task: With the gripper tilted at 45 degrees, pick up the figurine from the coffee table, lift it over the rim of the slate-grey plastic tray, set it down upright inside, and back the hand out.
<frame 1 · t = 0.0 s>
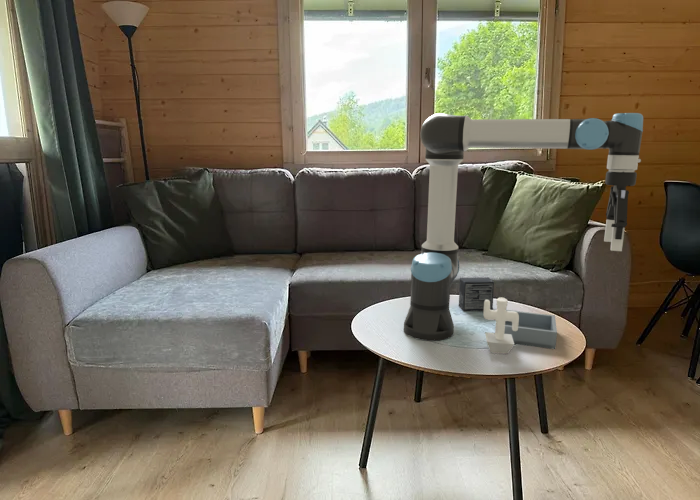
hand: (612, 246, 143), 28 cm above the table, tool pointing down, fingers open, 13 cm apart
tray: (525, 335, 150), on the table
figurine: (498, 351, 140), on the table
small box: (475, 308, 175), on the table
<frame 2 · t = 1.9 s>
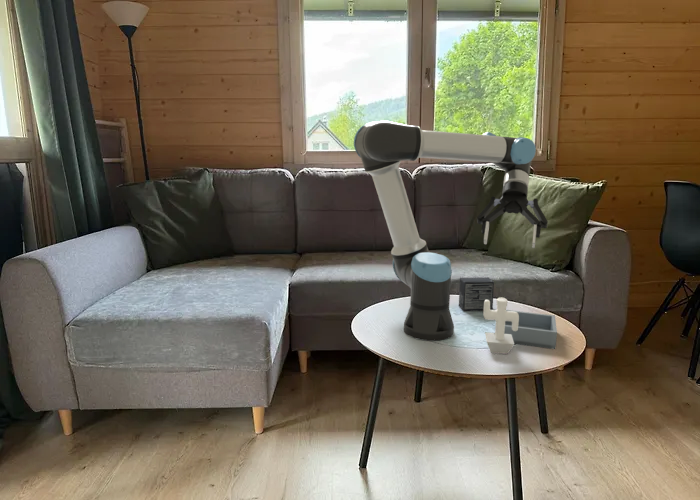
hand: (508, 243, 147), 28 cm above the table, tool tilted 45°, fingers open, 13 cm apart
nothing on the table moved.
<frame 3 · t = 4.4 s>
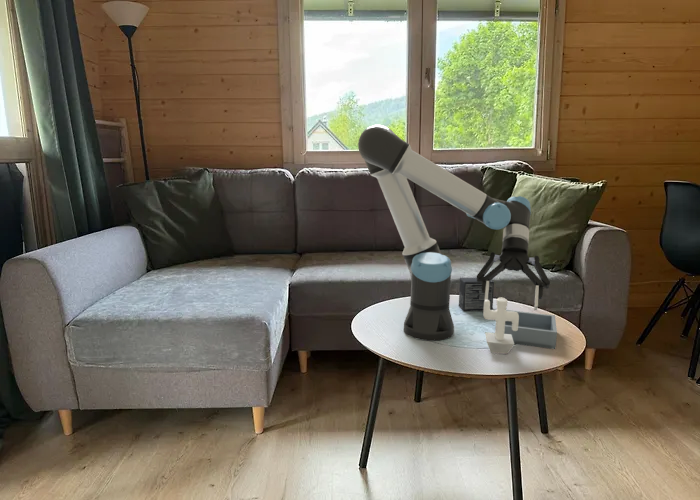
hand: (510, 305, 142), 11 cm above the table, tool tilted 45°, fingers open, 13 cm apart
nothing on the table moved.
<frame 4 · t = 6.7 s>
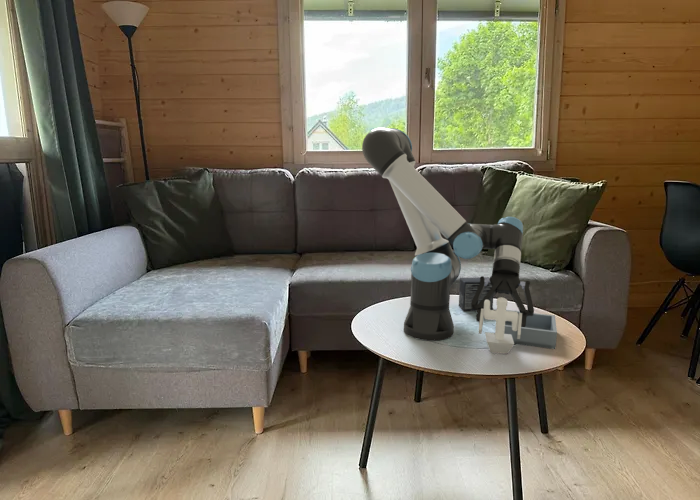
hand: (499, 334, 136), 6 cm above the table, tool tilted 45°, fingers closed on figurine, 9 cm apart
figurine: (498, 350, 140), on the table, touching gripper
everything else where it was.
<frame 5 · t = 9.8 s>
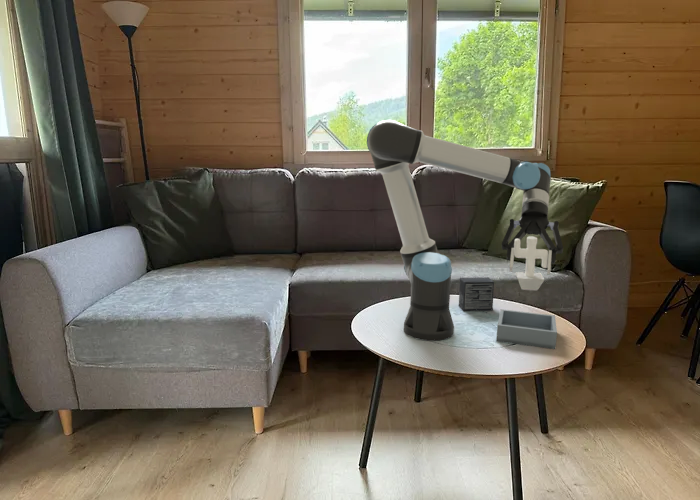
hand: (529, 270, 142), 21 cm above the table, tool tilted 45°, fingers closed on figurine, 9 cm apart
figurine: (528, 288, 146), point 15 cm above the table, touching gripper
everything else where it was.
when the fingers open (8 cm above the table, at t = 12.9 s): figurine drops 1 cm, resting on tray.
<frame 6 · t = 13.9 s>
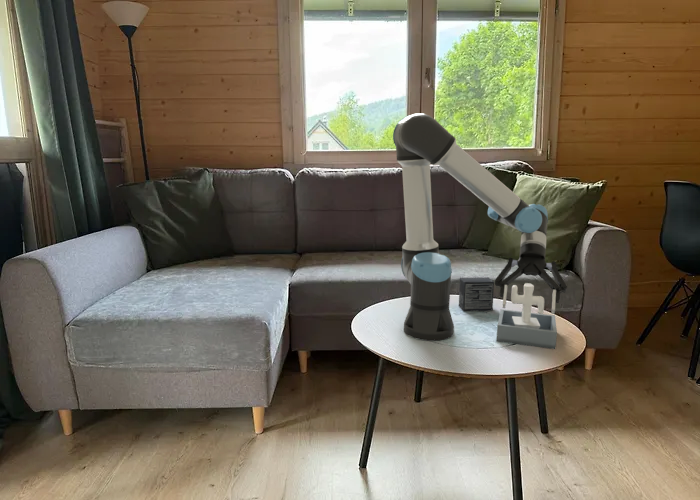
hand: (528, 308, 147), 9 cm above the table, tool tilted 45°, fingers open, 13 cm apart
figurine: (524, 333, 150), point 1 cm above the table, touching tray
everything else where it was.
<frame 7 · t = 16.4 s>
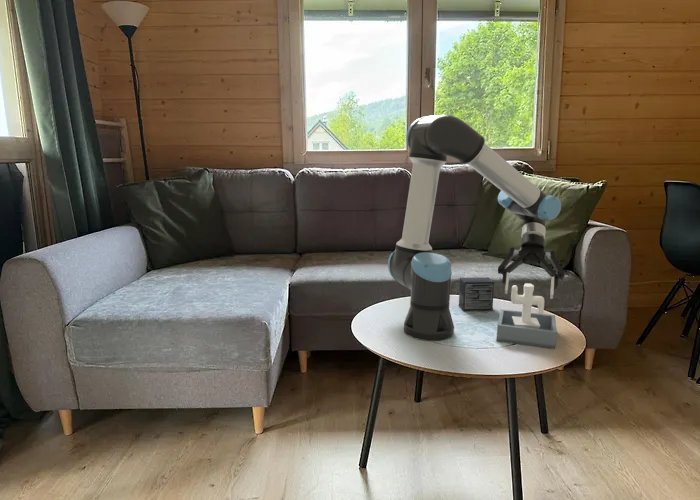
hand: (528, 294, 158), 10 cm above the table, tool tilted 45°, fingers open, 13 cm apart
nothing on the table moved.
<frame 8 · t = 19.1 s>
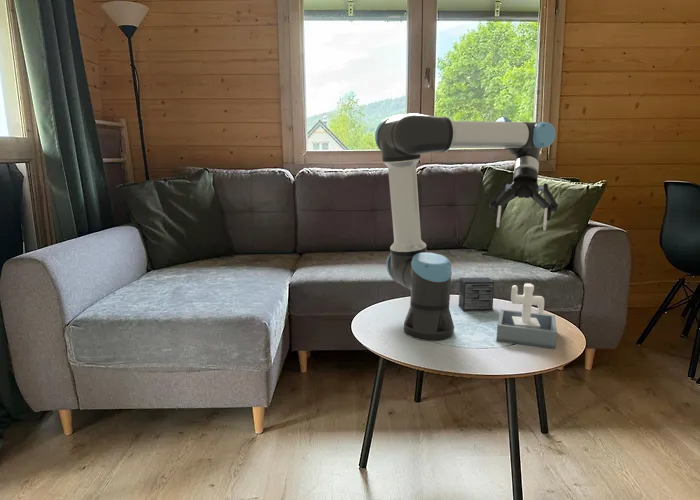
hand: (520, 226, 153), 32 cm above the table, tool tilted 45°, fingers open, 13 cm apart
nothing on the table moved.
at the end: figurine inside the target area on the tray (0.3 cm from its centre), point 0.8 cm above the tray's base; figurine tilted 0°; the gripper is holding nothing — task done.
